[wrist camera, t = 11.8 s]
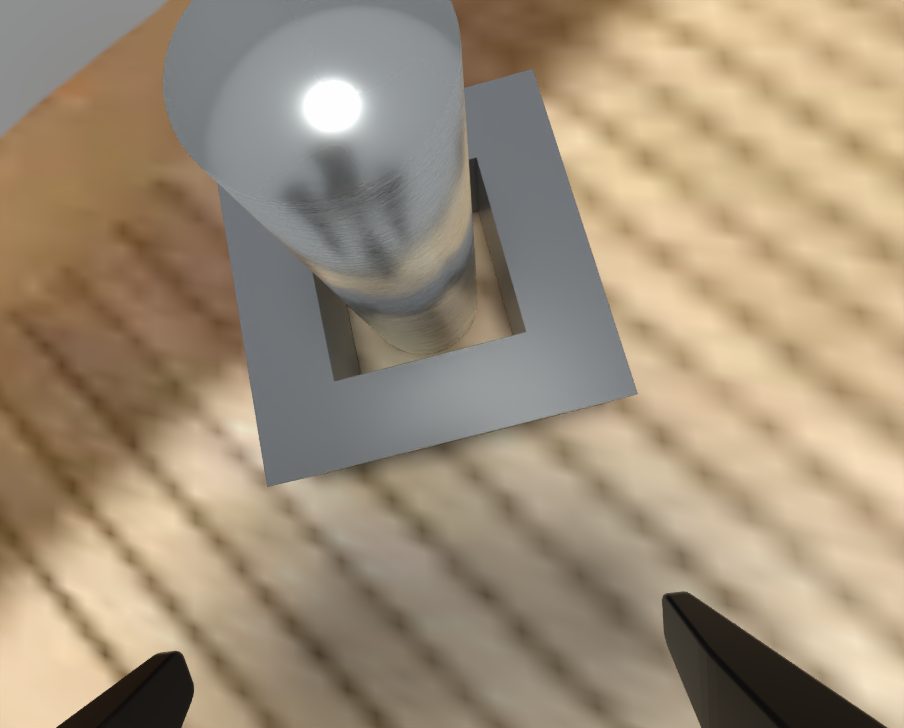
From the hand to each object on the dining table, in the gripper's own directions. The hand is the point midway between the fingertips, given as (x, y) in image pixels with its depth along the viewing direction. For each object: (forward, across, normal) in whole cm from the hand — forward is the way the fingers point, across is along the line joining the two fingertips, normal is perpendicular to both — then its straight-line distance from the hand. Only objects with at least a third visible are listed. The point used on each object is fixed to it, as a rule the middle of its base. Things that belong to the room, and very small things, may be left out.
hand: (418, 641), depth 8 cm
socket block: (+13, 0, -5) cm, 14 cm away
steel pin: (+13, 0, -5) cm, 14 cm away
